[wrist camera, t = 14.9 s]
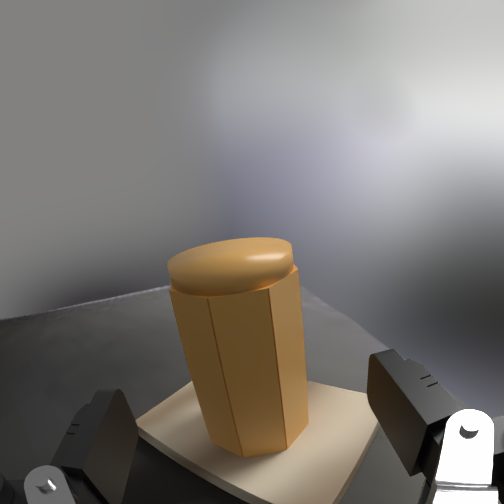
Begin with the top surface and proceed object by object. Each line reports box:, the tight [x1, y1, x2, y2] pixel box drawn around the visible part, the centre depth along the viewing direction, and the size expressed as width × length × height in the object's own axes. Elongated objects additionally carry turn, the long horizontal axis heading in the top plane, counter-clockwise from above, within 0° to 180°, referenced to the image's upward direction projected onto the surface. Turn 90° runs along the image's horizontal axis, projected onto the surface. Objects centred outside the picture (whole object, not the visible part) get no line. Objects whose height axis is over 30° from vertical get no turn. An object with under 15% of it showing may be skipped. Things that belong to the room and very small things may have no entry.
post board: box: [135, 381, 381, 504], centre depth 18 cm, size 14×10×8 cm
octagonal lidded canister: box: [167, 237, 309, 458], centre depth 17 cm, size 6×6×11 cm
